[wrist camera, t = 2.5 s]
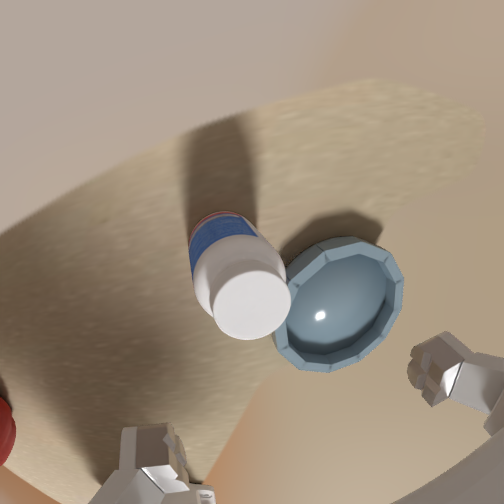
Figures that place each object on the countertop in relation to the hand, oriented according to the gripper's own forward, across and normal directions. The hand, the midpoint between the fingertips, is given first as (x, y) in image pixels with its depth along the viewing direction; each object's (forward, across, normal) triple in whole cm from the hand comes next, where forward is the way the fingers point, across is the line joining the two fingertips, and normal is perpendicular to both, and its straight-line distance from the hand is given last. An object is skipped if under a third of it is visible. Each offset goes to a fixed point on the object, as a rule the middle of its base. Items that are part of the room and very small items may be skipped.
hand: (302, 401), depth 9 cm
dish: (+16, +9, -8) cm, 20 cm away
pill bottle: (+17, 0, 0) cm, 17 cm away
